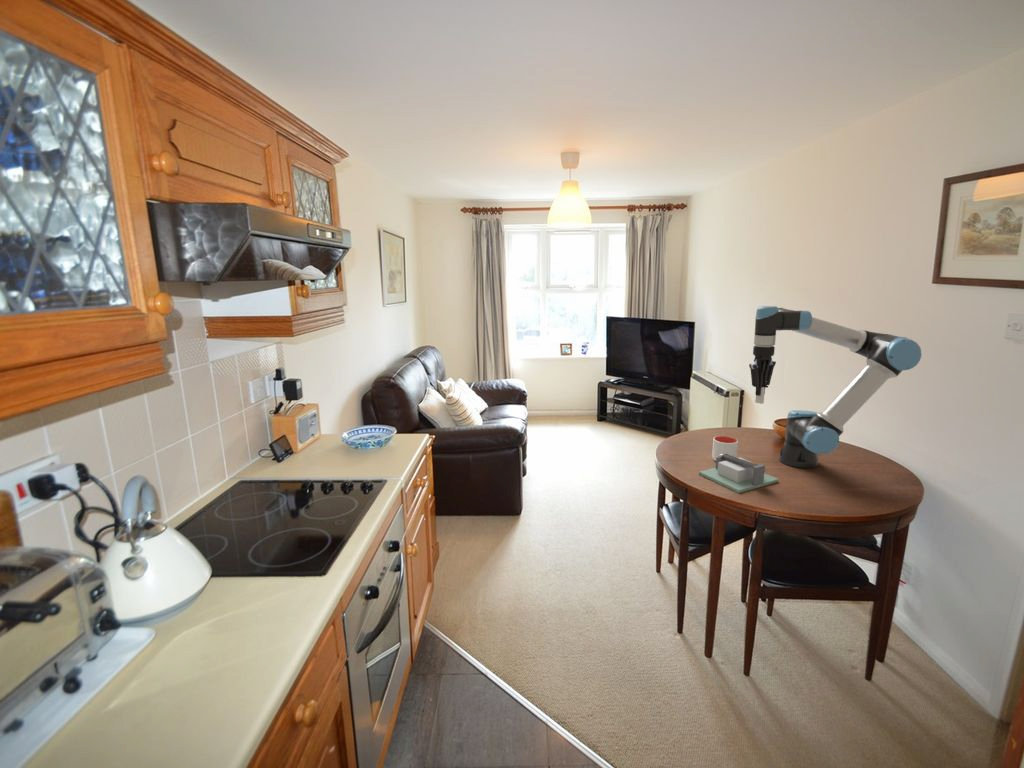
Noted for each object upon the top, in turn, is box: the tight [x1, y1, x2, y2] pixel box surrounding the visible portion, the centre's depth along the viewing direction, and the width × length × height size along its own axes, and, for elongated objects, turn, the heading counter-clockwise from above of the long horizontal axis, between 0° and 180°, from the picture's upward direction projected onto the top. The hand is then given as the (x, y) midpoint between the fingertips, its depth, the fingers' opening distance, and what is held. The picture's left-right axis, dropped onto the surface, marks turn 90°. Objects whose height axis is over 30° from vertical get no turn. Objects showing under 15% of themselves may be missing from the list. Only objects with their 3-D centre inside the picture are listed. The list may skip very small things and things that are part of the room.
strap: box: [718, 453, 759, 468], centre depth 197 cm, size 4×17×1 cm, turn 25°
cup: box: [711, 435, 739, 462], centre depth 215 cm, size 10×10×10 cm
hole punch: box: [698, 456, 779, 494], centre depth 197 cm, size 22×20×9 cm
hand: (759, 402), depth 197 cm, fingers closed
